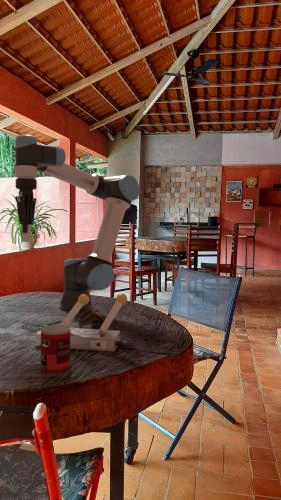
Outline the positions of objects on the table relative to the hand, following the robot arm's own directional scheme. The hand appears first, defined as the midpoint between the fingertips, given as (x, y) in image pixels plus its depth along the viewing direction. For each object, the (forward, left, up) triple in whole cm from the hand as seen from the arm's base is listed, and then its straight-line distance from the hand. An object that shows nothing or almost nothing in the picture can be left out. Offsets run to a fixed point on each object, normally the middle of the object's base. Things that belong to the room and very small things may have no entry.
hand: (26, 241), depth 142 cm
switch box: (+16, +29, -32) cm, 46 cm away
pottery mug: (-4, +25, -33) cm, 41 cm away
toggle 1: (+16, +20, -27) cm, 38 cm away
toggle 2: (+16, +34, -27) cm, 47 cm away
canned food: (+36, +26, -33) cm, 55 cm away
